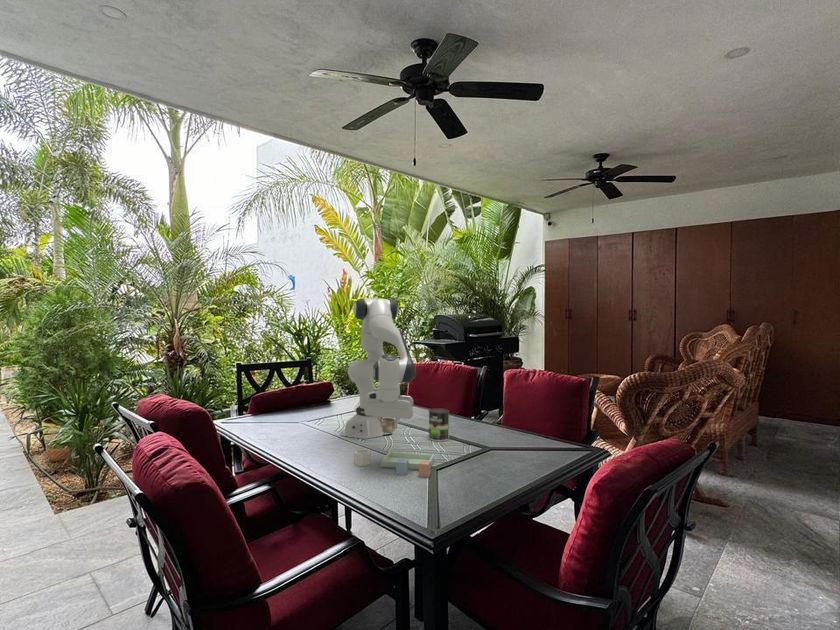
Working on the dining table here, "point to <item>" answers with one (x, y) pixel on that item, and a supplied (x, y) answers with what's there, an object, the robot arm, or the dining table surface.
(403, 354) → the robot arm
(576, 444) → the dining table surface
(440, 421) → the coffee can
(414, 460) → the tray
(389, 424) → the birch block
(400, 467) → the blue block
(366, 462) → the cup
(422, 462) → the terracotta block
